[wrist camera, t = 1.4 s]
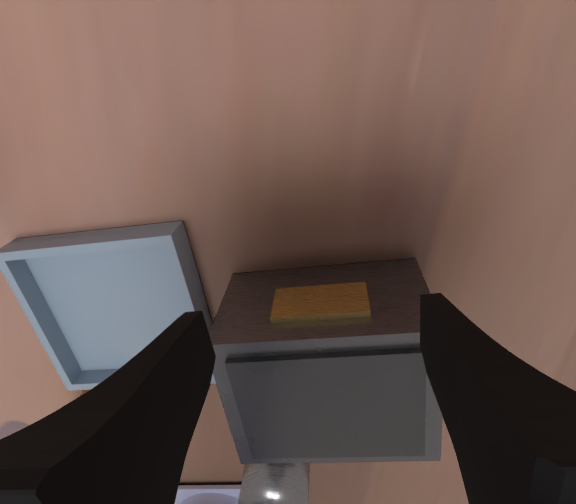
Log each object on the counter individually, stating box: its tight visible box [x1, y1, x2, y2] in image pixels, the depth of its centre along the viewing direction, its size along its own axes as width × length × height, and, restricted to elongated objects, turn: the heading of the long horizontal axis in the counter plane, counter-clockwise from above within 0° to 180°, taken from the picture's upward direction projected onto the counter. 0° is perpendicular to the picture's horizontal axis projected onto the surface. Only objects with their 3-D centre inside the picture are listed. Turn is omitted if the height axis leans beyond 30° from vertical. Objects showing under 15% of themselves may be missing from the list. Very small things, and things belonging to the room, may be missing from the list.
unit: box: [209, 258, 442, 464], centre depth 21 cm, size 9×10×6 cm
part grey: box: [238, 463, 310, 504], centre depth 25 cm, size 4×4×6 cm
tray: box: [0, 221, 216, 391], centre depth 23 cm, size 10×10×2 cm
